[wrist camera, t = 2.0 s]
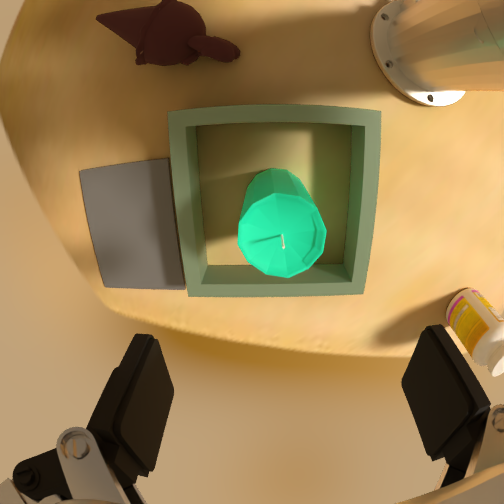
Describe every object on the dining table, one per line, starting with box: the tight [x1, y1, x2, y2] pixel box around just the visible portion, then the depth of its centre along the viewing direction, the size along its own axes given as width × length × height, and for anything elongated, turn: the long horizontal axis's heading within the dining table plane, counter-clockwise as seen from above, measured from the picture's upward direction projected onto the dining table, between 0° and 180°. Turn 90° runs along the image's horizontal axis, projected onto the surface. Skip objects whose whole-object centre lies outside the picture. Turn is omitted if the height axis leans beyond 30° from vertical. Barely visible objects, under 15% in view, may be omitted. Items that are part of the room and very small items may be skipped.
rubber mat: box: [79, 158, 185, 290], centre depth 30 cm, size 15×11×1 cm
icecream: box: [96, 0, 240, 66], centre depth 19 cm, size 7×7×15 cm
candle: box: [238, 168, 327, 278], centre depth 23 cm, size 6×6×12 cm
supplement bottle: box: [446, 288, 504, 376], centre depth 28 cm, size 7×7×13 cm
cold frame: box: [167, 104, 381, 297], centre depth 27 cm, size 18×18×4 cm
